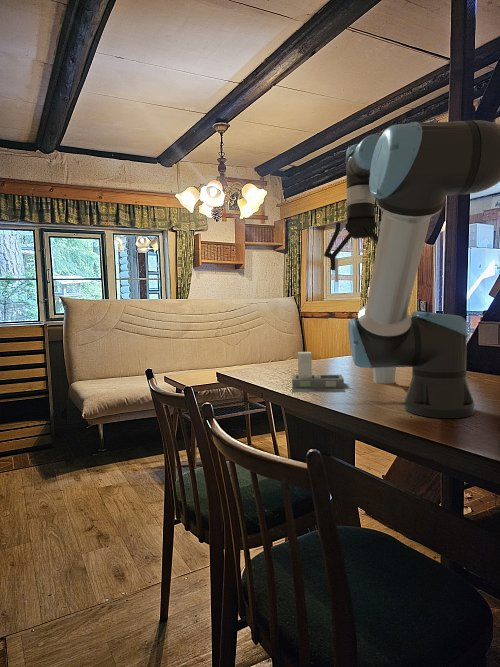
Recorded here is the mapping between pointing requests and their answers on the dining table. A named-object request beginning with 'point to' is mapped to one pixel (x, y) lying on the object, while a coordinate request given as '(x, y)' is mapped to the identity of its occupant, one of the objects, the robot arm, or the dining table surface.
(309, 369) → the plug
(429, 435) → the dining table surface
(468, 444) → the dining table surface
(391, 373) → the cup
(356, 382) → the dining table surface
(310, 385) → the panel
